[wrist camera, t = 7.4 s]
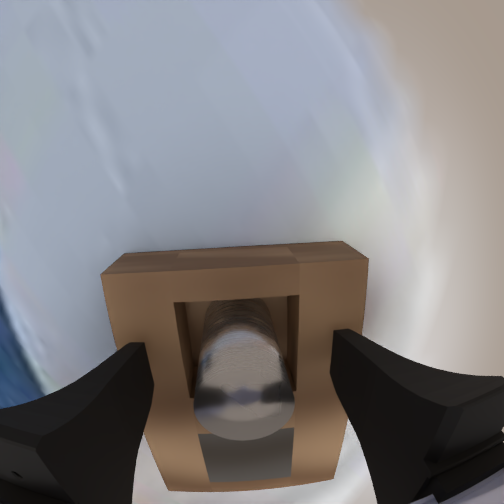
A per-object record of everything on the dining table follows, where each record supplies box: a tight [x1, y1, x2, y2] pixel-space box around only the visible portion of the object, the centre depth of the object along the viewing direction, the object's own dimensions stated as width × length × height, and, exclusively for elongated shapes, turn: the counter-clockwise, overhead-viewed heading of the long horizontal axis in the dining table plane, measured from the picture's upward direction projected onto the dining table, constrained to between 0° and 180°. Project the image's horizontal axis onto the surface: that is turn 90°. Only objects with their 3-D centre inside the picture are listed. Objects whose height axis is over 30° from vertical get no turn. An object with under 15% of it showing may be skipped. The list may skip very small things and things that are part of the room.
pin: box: [193, 298, 295, 441], centre depth 11 cm, size 3×3×6 cm
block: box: [100, 241, 369, 492], centre depth 14 cm, size 14×10×3 cm
